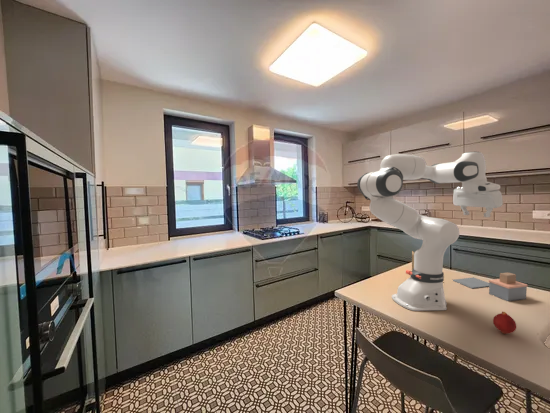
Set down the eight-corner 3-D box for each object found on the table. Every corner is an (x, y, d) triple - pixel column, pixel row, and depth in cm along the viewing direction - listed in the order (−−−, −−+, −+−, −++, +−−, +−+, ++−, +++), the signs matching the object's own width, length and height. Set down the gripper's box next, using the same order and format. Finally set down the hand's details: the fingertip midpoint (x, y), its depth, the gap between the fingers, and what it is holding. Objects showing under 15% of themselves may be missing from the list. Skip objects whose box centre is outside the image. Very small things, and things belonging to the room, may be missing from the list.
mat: (472, 288, 118) (472, 287, 118) (452, 280, 129) (452, 279, 129) (494, 285, 120) (494, 285, 120) (473, 278, 131) (473, 277, 131)
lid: (508, 291, 103) (509, 278, 103) (488, 284, 112) (488, 271, 111) (527, 289, 105) (527, 276, 105) (506, 281, 113) (506, 270, 113)
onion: (503, 328, 85) (504, 307, 84) (520, 338, 79) (521, 315, 79) (488, 329, 85) (489, 308, 84) (504, 339, 79) (505, 316, 78)
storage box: (508, 301, 104) (508, 288, 103) (489, 293, 112) (489, 281, 111) (526, 299, 105) (526, 286, 105) (506, 291, 113) (506, 279, 113)
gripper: (448, 188, 117) (450, 214, 118) (492, 187, 97) (494, 219, 98) (459, 186, 118) (460, 212, 119) (504, 185, 98) (506, 217, 99)
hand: (476, 215), depth 109 cm, fingers open, 8 cm apart
